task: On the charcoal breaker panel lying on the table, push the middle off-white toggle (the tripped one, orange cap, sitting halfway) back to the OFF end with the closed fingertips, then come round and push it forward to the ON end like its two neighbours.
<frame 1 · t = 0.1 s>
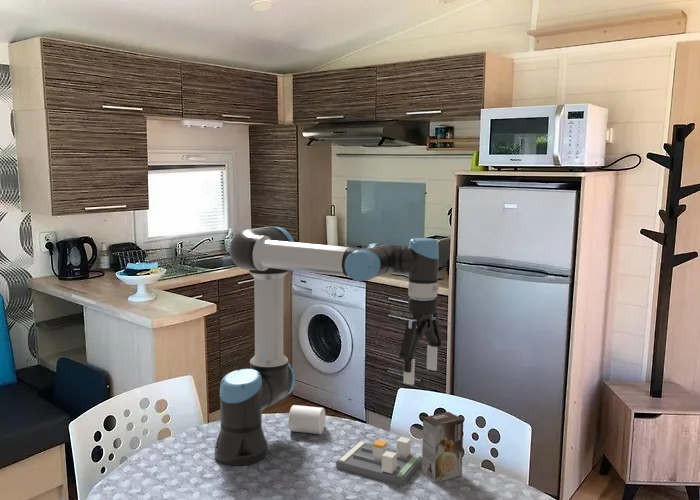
hand: (420, 376, 155), 28 cm above the table, fingers open, 13 cm apart
breaker 2: (403, 447, 165), point 4 cm above the table, slide at 5.0 cm
breaker 1: (389, 462, 156), point 4 cm above the table, slide at 5.0 cm
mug: (308, 429, 187), on the table
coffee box: (441, 475, 159), on the table
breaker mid: (380, 450, 163), point 4 cm above the table, slide at 0.0 cm
panel: (379, 465, 163), on the table
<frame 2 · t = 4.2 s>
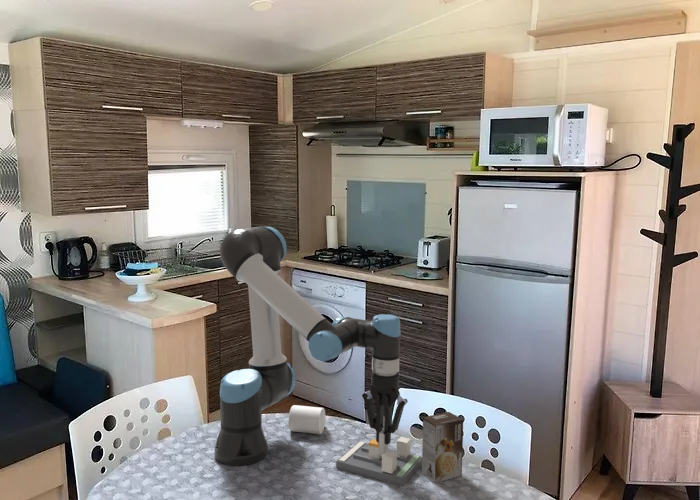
hand: (383, 453, 162), 4 cm above the table, fingers closed
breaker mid: (375, 449, 163), point 4 cm above the table, slide at -1.3 cm, touching gripper
everything else where it was.
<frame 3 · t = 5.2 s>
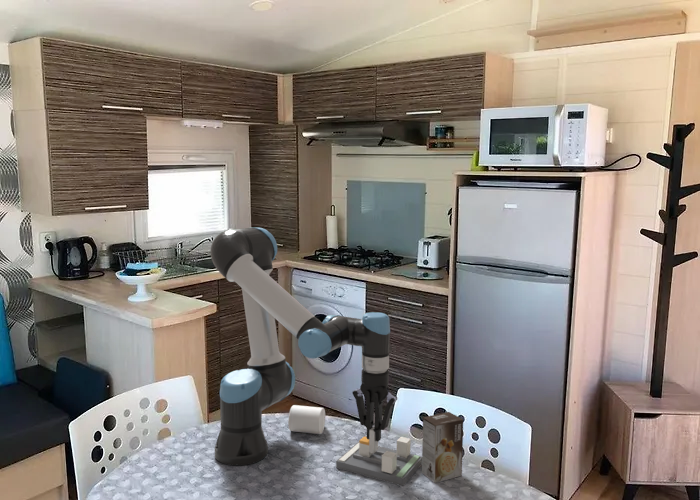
hand: (373, 450, 164), 4 cm above the table, fingers closed
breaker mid: (366, 446, 164), point 4 cm above the table, slide at -4.2 cm, touching gripper
everything else where it was.
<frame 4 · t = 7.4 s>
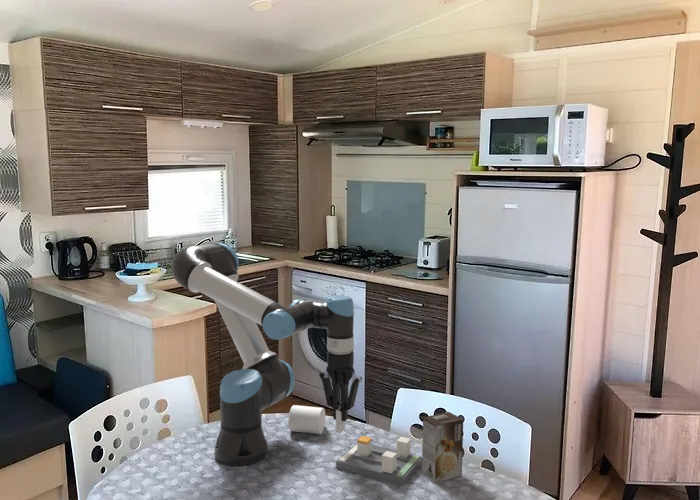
hand: (340, 430, 168), 7 cm above the table, fingers closed
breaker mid: (364, 446, 165), point 4 cm above the table, slide at -4.8 cm
everything else where it was.
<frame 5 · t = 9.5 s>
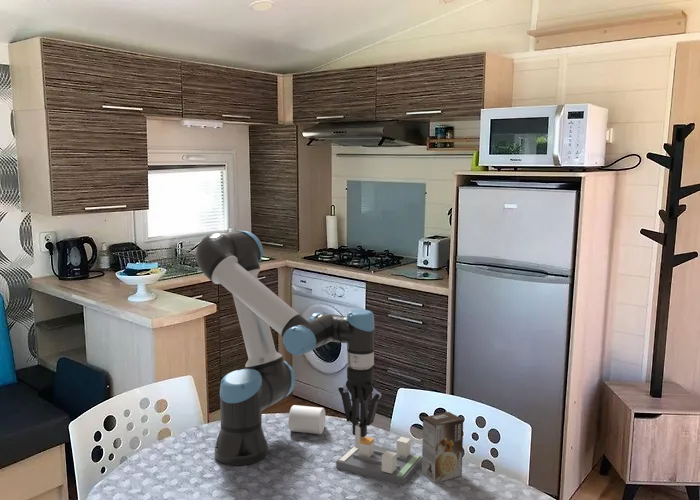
hand: (359, 446, 166), 4 cm above the table, fingers closed
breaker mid: (366, 446, 164), point 4 cm above the table, slide at -4.1 cm, touching gripper
everything else where it was.
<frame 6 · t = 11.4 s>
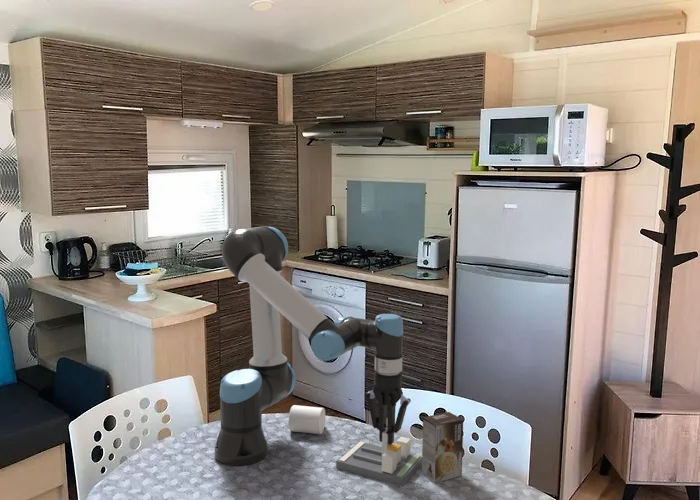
hand: (386, 453, 162), 4 cm above the table, fingers closed
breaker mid: (393, 453, 161), point 4 cm above the table, slide at 4.2 cm
everything else where it was.
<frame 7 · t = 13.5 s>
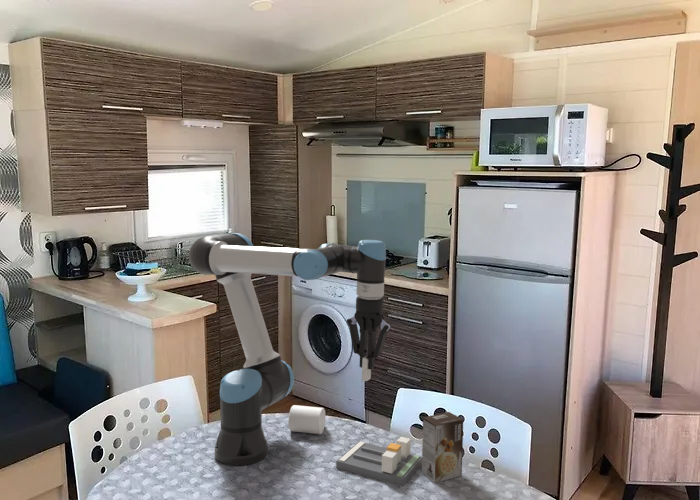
hand: (366, 379, 163), 24 cm above the table, fingers closed
nothing on the table moved.
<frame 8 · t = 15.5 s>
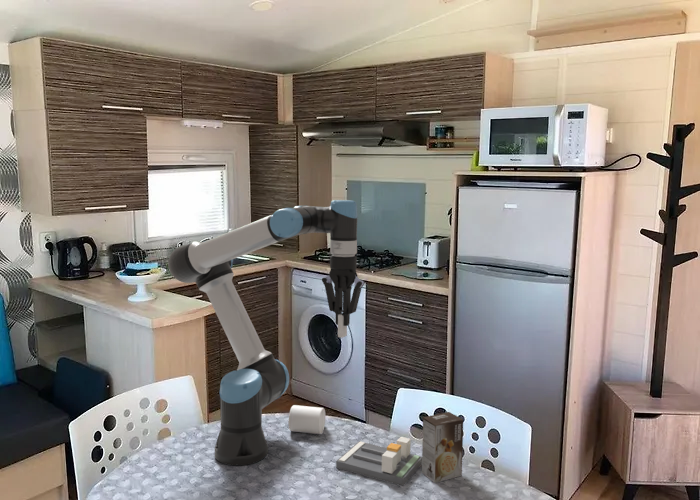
hand: (342, 336, 168), 34 cm above the table, fingers closed
nothing on the table moved.
at the end: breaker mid slide at 4.2 cm; breaker 1 slide at 5.0 cm; breaker 2 slide at 5.0 cm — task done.
